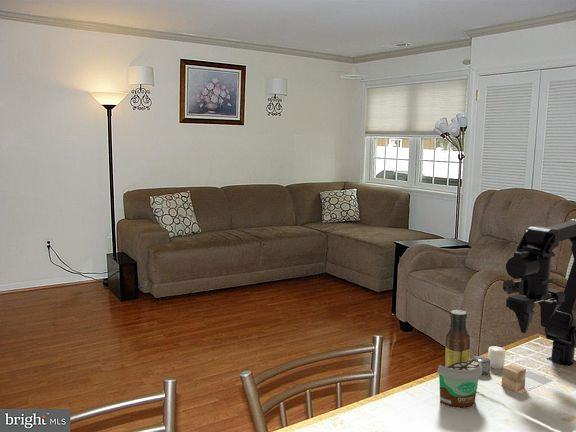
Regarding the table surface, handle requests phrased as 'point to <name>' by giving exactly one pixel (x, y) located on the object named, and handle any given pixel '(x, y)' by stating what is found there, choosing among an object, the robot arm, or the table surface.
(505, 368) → the oak block
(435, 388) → the table surface
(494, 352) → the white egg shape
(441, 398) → the food container
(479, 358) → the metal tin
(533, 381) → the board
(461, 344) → the sauce bottle
